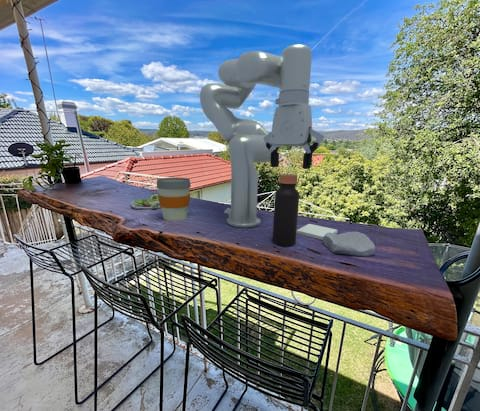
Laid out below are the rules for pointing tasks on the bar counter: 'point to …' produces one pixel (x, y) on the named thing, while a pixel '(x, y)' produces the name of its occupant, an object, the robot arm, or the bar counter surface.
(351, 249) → the stone block
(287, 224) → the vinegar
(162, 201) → the reusable coffee cup
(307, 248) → the bar counter surface
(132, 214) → the bar counter surface
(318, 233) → the tile
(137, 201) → the salad plate
